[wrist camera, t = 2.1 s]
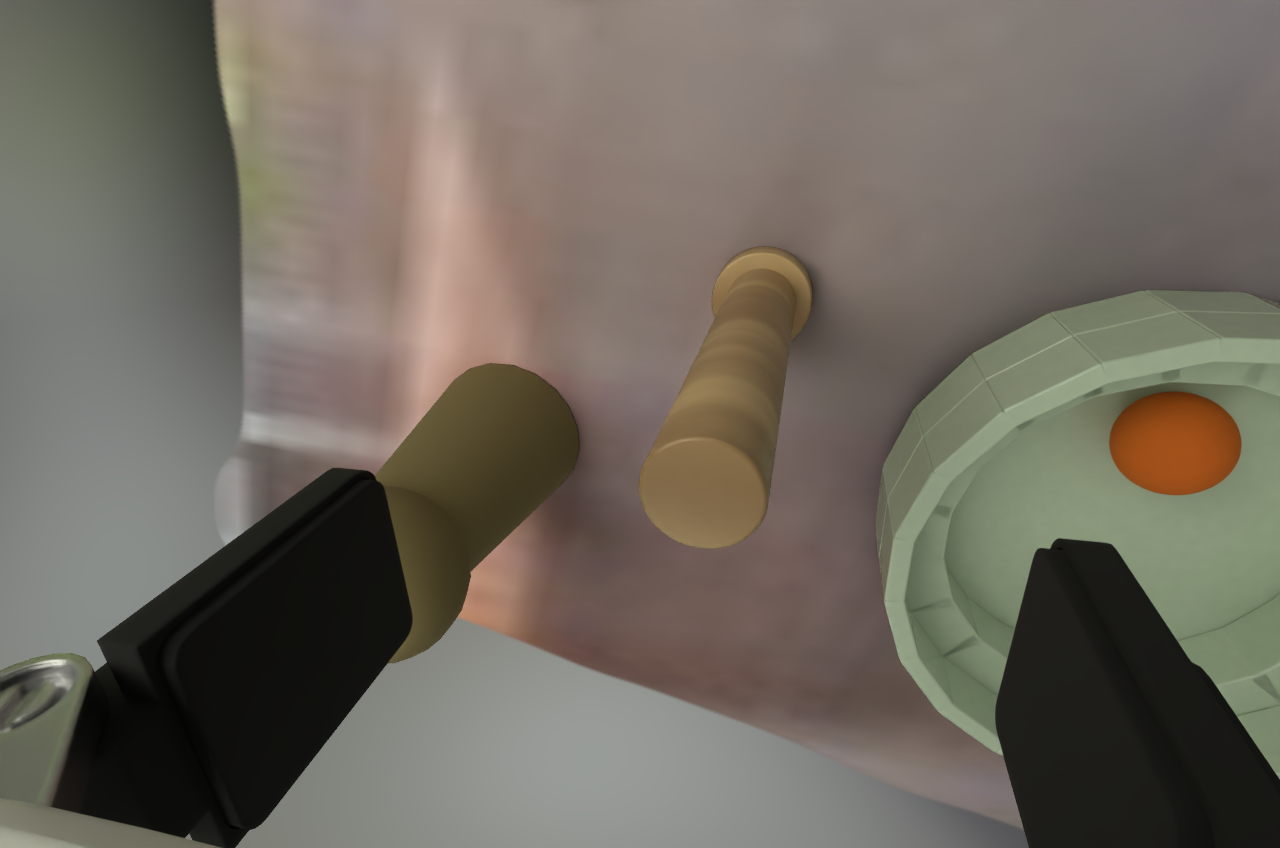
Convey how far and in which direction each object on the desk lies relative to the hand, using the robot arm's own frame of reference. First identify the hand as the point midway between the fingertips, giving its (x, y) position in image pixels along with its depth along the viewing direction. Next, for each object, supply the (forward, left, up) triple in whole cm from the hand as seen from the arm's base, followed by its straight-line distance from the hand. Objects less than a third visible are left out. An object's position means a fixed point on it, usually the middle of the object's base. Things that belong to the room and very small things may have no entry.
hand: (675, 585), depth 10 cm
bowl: (+7, +12, -15) cm, 20 cm away
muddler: (0, 0, -15) cm, 15 cm away
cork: (+6, -10, -15) cm, 19 cm away
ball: (+3, +12, -13) cm, 18 cm away
